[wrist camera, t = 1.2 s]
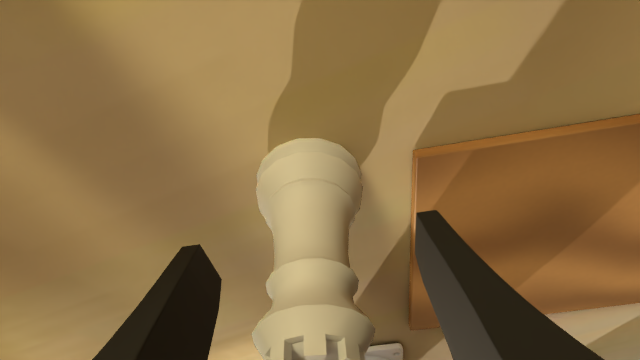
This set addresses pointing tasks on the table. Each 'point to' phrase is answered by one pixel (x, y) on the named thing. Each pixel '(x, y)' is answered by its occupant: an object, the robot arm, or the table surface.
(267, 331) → the rook chess piece
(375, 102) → the table surface
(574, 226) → the brown wooden board
